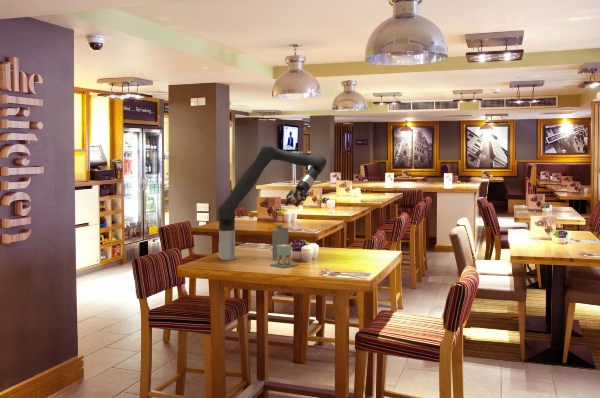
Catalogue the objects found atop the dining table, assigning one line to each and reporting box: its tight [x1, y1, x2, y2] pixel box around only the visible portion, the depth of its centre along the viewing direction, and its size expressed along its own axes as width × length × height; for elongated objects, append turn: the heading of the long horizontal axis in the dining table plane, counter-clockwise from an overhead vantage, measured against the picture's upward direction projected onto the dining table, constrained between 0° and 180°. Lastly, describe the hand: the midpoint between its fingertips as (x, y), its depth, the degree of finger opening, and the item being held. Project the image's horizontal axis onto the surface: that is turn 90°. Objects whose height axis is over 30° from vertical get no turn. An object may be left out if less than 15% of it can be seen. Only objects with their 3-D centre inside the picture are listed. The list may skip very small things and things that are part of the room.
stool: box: [276, 244, 292, 266], centre depth 344 cm, size 6×6×11 cm
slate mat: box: [269, 261, 299, 269], centre depth 344 cm, size 11×11×1 cm
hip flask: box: [271, 224, 290, 261], centre depth 368 cm, size 16×4×20 cm, turn 152°
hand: (290, 205), depth 353 cm, fingers open, 8 cm apart
